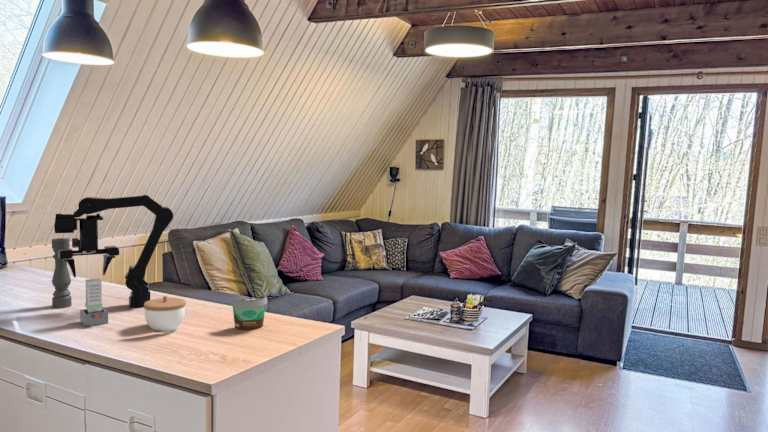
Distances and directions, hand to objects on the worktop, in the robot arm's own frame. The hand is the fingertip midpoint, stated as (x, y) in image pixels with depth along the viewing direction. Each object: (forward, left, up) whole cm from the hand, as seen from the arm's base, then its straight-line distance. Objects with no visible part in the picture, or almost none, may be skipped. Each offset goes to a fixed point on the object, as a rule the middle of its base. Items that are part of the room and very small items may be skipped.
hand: (89, 276), depth 196 cm
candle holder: (+7, -14, -13) cm, 20 cm away
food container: (-40, +48, -13) cm, 64 cm away
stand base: (+2, +19, -13) cm, 23 cm away
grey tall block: (+2, +19, -8) cm, 21 cm away
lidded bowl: (-16, +35, -13) cm, 41 cm away
